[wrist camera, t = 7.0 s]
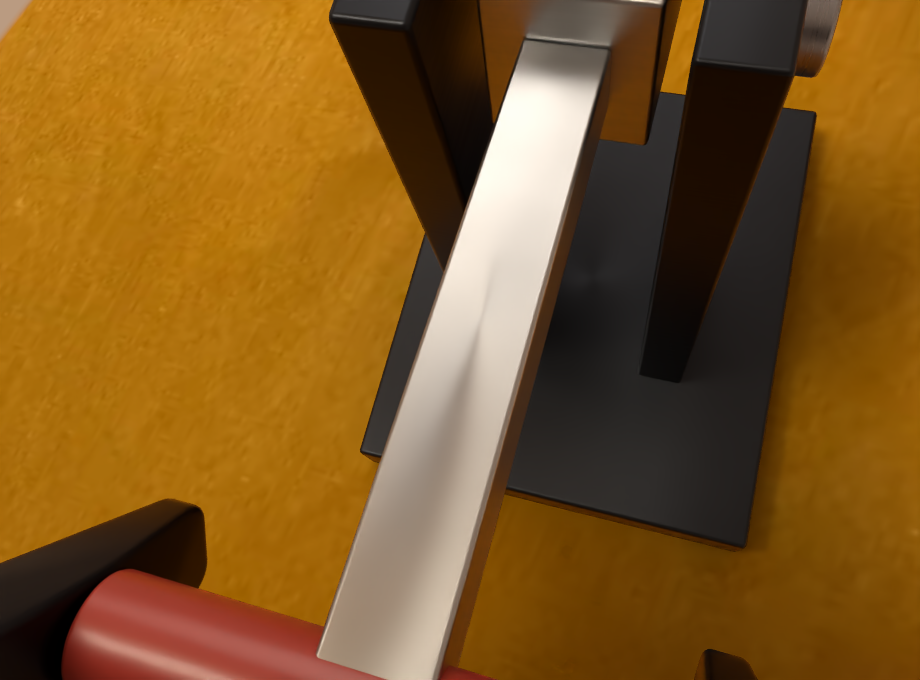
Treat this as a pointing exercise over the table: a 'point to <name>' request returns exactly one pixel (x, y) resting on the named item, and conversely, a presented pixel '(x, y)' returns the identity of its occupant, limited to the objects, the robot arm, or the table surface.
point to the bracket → (622, 258)
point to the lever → (433, 385)
